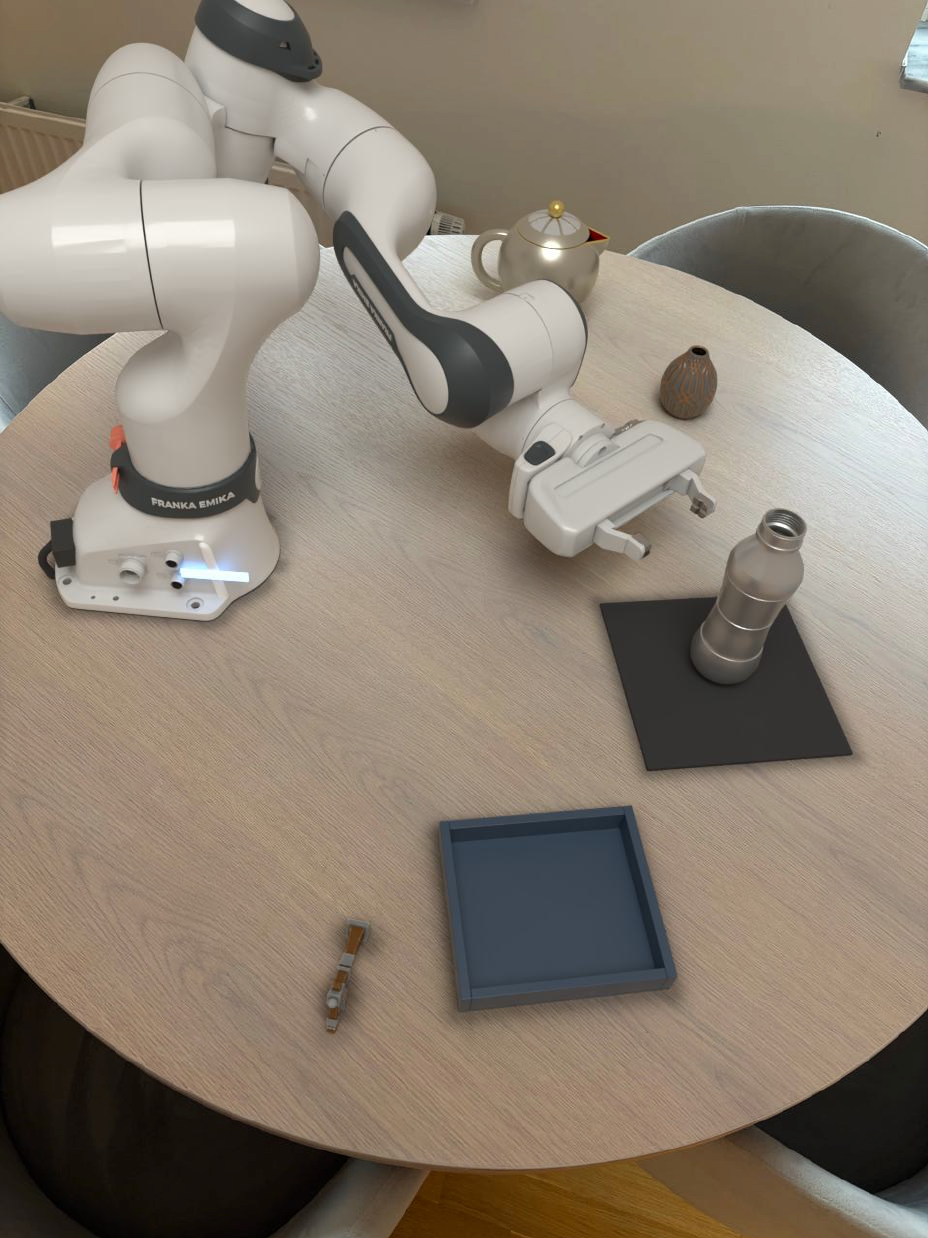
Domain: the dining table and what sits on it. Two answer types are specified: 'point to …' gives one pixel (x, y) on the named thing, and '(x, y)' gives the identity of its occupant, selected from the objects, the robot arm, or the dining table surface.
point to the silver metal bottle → (750, 598)
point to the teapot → (544, 252)
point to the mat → (717, 692)
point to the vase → (689, 383)
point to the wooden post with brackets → (345, 970)
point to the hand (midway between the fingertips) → (679, 531)
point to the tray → (551, 908)
